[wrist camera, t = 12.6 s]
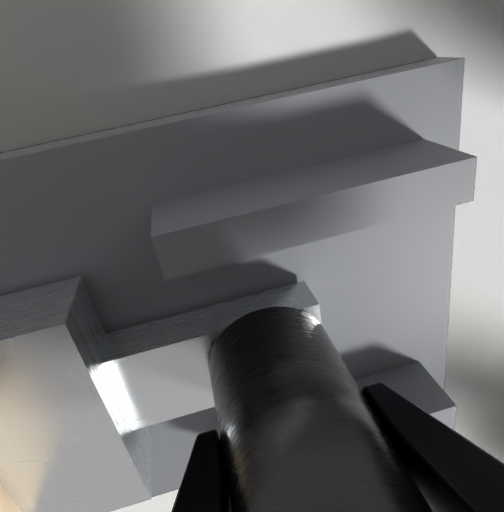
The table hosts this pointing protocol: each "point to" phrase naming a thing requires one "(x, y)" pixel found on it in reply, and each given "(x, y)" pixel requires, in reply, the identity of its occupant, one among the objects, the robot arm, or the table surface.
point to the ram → (188, 405)
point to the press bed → (262, 222)
